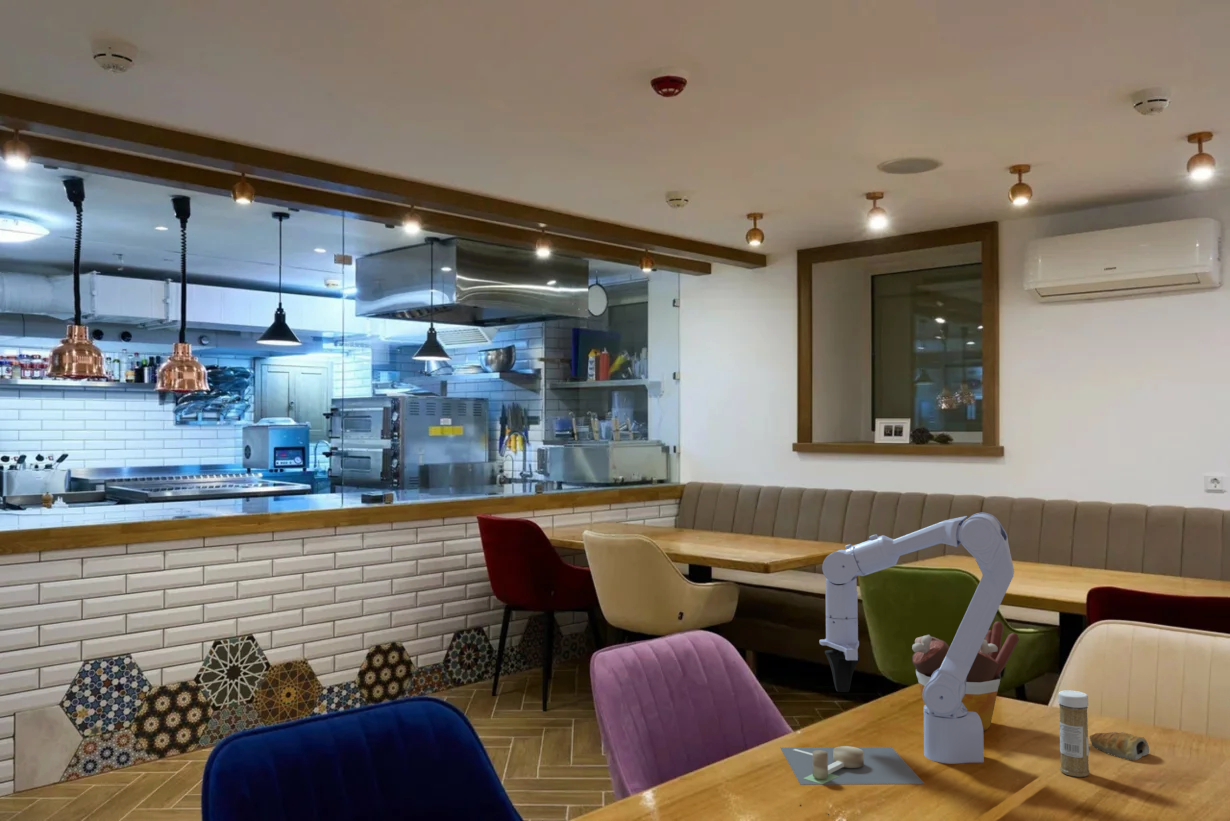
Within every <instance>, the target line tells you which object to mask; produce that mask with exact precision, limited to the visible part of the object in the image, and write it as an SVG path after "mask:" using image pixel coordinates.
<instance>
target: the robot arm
mask: <svg viewBox="0 0 1230 821" xmlns="http://www.w3.org/2000/svg"><path fill="white" fill-rule="evenodd" d="M967 517H968V516H967V515H964V516H960V517H955V518H949V519H945V520H942V521H940V522H936V523H934V524H931V525H929V526H926V527H923V528H920V529H918V530H915V531H913V532H910V533H907V534H904V535H902V536H899V537H897V538H891V537H889V536H886V535H885V534H882V535H879V536H878V534H872V535H870V536H869V537H868V540H866V541H863V542H860V543H857V544H854V545H852V543H849V544H847V545H844V548H845V549H839V550H835V551H833V552H832V553H830V554H828V555H827V556H826V557H825V558H824V560H823V562H822V566H821V567H822V573H823V576H824V578H825V638H824V639H823V638H822V639H819V641H818V642H819V645H821V646H827V647H829V648H832V649H828V650H824V654H825V657H826V659H827V661H828V663H829V666H830V670H831V674H832V679H833V684H834V687H835V690H836V692H837V693H849V692H850V688H851V685H852V678H853V675H854V671H855V669H856V667H857V664H858V662H859V661H860V658H861V656H860V654H859V652H858V649H859V646H860V641H859V626H858V625H859V620H858V618H859V615H858V612H859V611H858V605H859V604H858V603H859V602H858V598H859V597H858V590H857V586H858V584H857V581H858V580H857V579H858V578H857V577H858V576H859V577H865V576H868V575H871V574H873V573H877V572H880V571H883V570H885V569H886V570H887V569H888V568H892V567H895V566H896V565H897V563H898V561H899V558H900V556H901V557H902V556H904V555H907V554H910V553H913V552H917V551H920V550H925V549H927V548H930V547H934V546H937V545H940V544H944V545H949V546H952V547H954V548H957V547H959V546H960V545H962V547H963V548H964V549H965V550H966V551H967V552H968V553H969V554H970V555H971V556H972V557H973V559H975V562H976V564H977V566H978V568H979V570H980V572H981V574H982V576H981V578H980V581H979V583H978V585H977V587H976V589H975V592H974V594H973V595H972V598H971V600H970V602H969V604H968V607H967V608H966V611H965V613H964V615H963V618H962V620H961V622H960V624H959V626H958V628H957V630H956V633H955V635H954V637H953V640H952V642H951V644H950V646H949V647H950V648H949V650H948V652H947V654H946V657H945V659H944V661H943V663H942V665H941V667H940V668H939V669H937V670H936V671H935V672H934V673H933V674H932V675H931V677H930V680H929V682H928V683H927V684H926V685H925V687H924V689H923V699H922V701H923V700H924V703H925V706H924V705H923V754H924V757H925V758H926V759H928V760H930V761H933V762H937V763H939V764H940V763H941V764H948V765H949V764H950V765H951V764H952V765H953V764H955V765H956V764H965V763H984V762H985V761H984V760H985V759H984V758H985V757H984V756H985V755H984V752H985V751H984V749H985V747H984V746H985V745H984V742H985V741H984V731H983V726H982V722H981V719H980V717H979V715H978V714H977V713H976V712H971V711H967V708H965V706H964V704H963V703H962V702H961V700H962V698H963V697H964V695H965V693H966V690H967V685H966V678H967V675H968V673H969V671H970V668H971V666H972V664H973V662H974V660H975V658H976V656H977V653H978V651H979V649H980V647H981V645H982V643H983V641H984V640H985V636H986V634H987V632H988V630H990V627H991V626H992V623H993V621H994V619H995V617H996V614H997V612H998V611H999V608H1000V606H1001V604H1002V601H1003V599H1004V597H1005V595H1006V593H1007V590H1008V589H1009V587H1010V584H1011V582H1012V580H1013V578H1014V575H1015V569H1014V568H1015V567H1014V564H1013V563H1014V562H1013V559H1012V555H1011V551H1010V545H1009V538H1008V533H1007V532H1006V530H1005V528H1004V527H1003V525H1002V524H1001V522H1000V521H999V520H998V518H997V517H996V516H995V515H993V514H992V513H991V514H990V513H987V512H977V513H974V514H972V515H970V516H969V517H968V518H967ZM924 703H923V704H924Z"/></svg>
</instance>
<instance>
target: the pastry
mask: <svg viewBox="0 0 1230 821" xmlns="http://www.w3.org/2000/svg"><path fill="white" fill-rule="evenodd" d="M1089 741H1090V743H1091V746H1092V747H1093V748H1094V749H1097V748H1098V749H1097V750H1099V749H1100V750H1099V751H1101V750H1102V751H1101V752H1103V753H1104V752H1105V753H1104V754H1107V753H1109V754H1108V755H1111V754H1112V755H1111V756H1114V755H1115V756H1114V757H1117V756H1118V757H1117V758H1120V757H1121V759H1123V758H1125V759H1124V760H1127V759H1129V761H1135V760H1134V759H1138V760H1140V759H1141V758H1143V757H1145V756H1148V754H1150V747H1149V746H1150V745H1149V744H1148V741H1147V740H1146V738H1145V737H1141V736H1136V735H1133V734H1131V733H1127V732H1124V731H1123V732H1117V731H1113V732H1096V733H1094V734H1091V735H1089ZM1142 756H1143V757H1142ZM1139 758H1140V759H1139ZM1130 759H1131V760H1130Z"/></svg>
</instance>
